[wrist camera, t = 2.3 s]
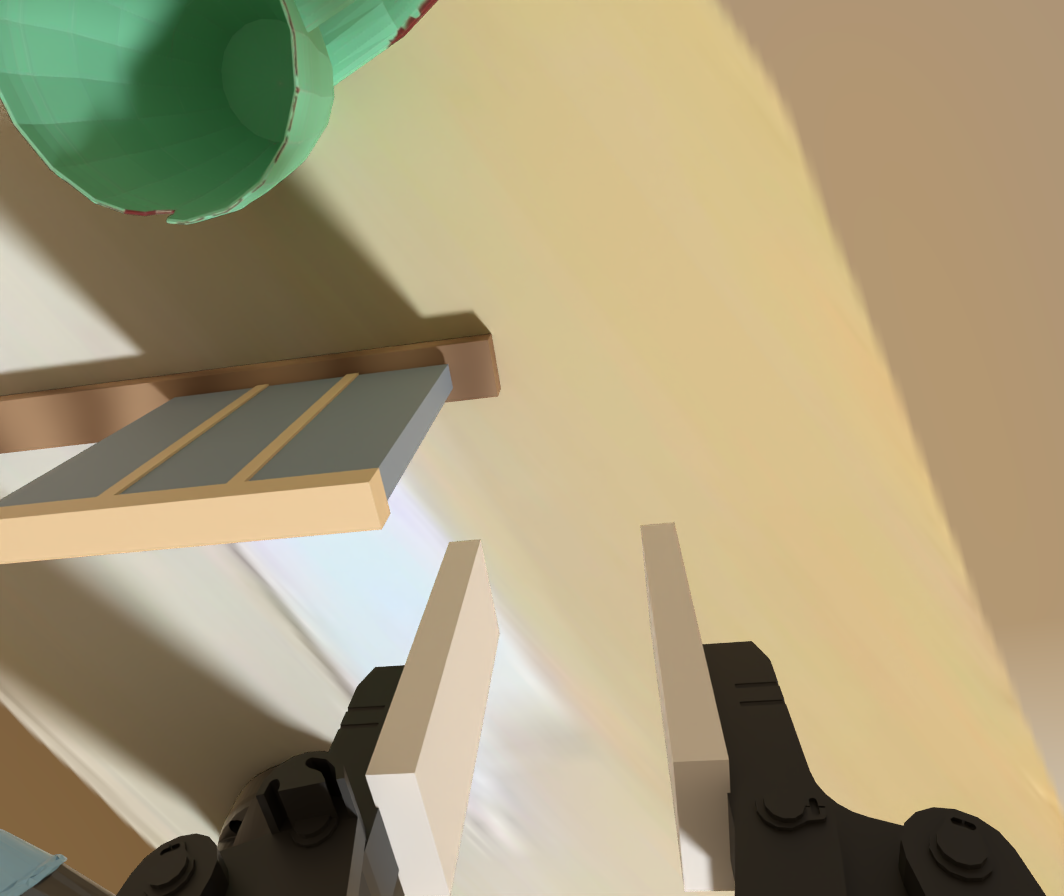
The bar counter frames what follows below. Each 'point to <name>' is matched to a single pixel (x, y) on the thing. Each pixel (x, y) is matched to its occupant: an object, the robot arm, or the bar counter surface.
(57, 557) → the panel
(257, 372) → the brown wooden rack
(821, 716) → the bar counter surface
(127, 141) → the mug
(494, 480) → the bar counter surface
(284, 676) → the bar counter surface
